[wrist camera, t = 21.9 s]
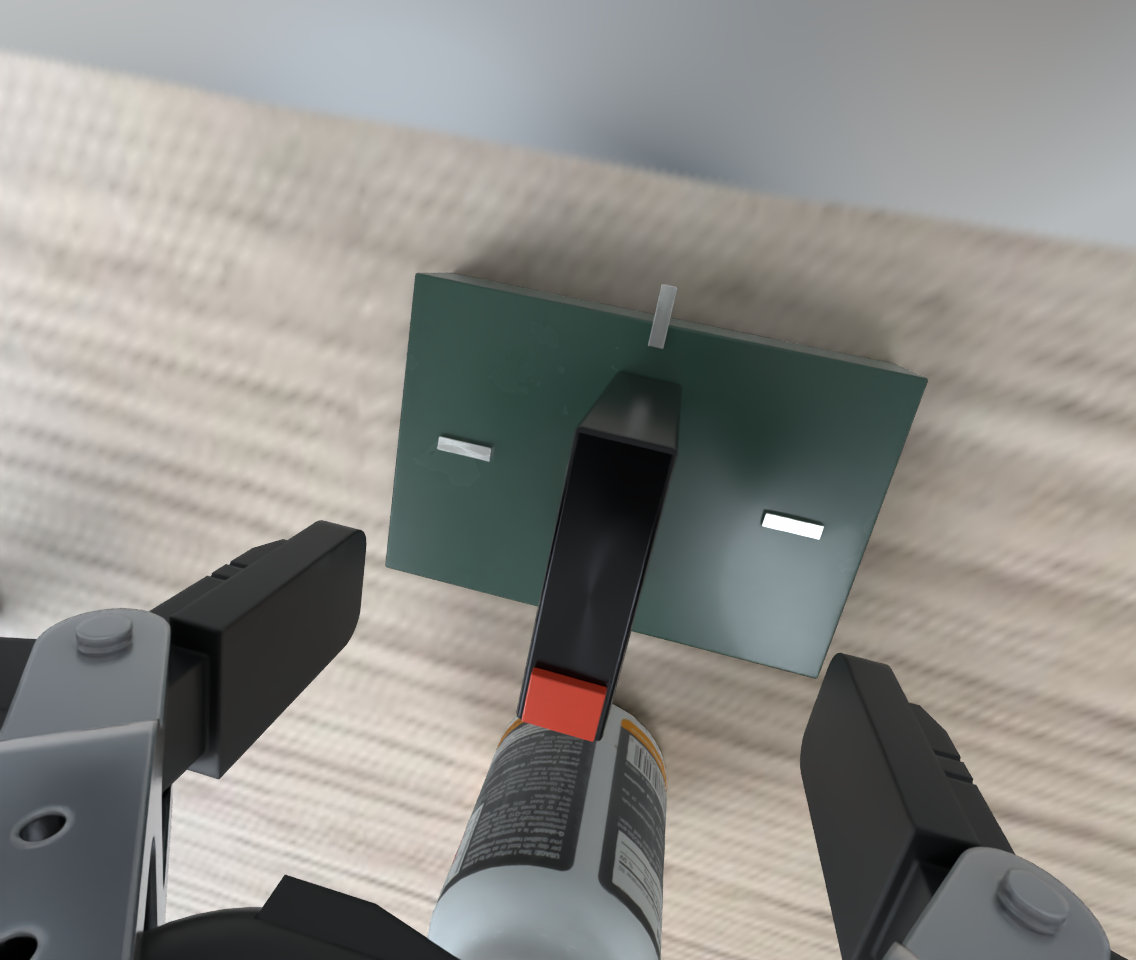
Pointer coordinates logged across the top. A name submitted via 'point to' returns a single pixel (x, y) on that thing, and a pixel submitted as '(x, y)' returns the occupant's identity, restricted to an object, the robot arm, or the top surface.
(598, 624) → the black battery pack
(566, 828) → the pill bottle
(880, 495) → the base plate
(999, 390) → the top surface
